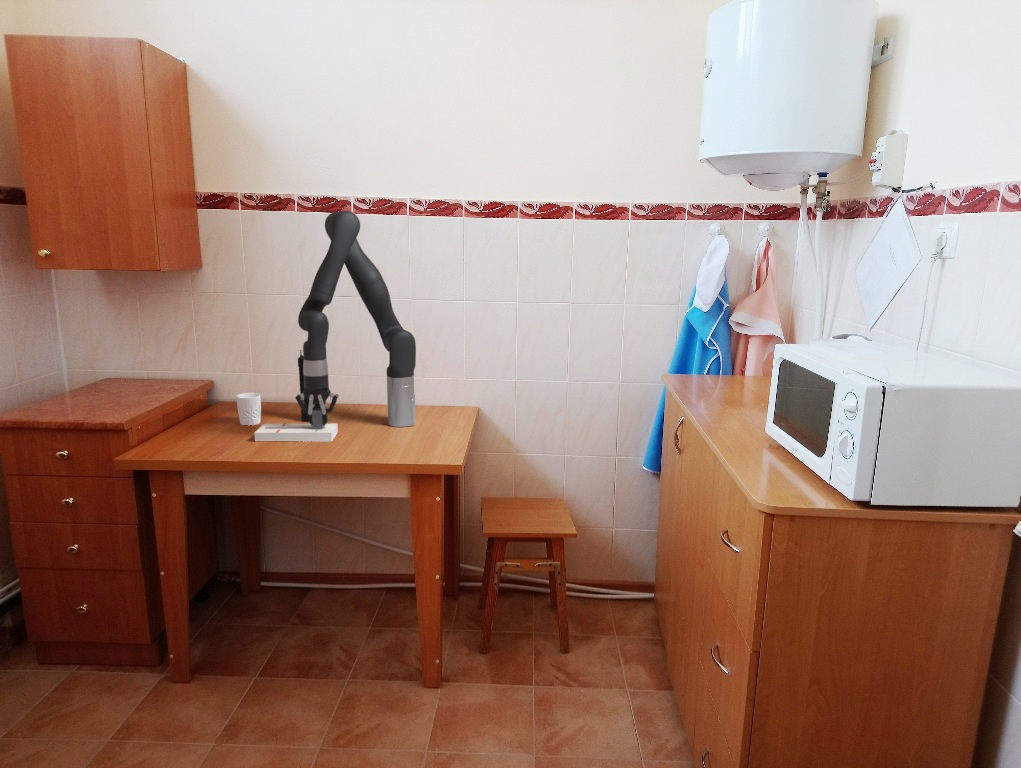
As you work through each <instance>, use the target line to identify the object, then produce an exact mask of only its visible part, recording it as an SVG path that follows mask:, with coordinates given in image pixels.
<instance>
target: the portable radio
mask: <svg viewBox="0 0 1021 768" xmlns="http://www.w3.org/2000/svg"><path fill="white" fill-rule="evenodd" d="M299 351H300V352H299V353H300V354H299V357H297V365H298V366H297V367H298V374H299V376H298V377H299V378H298V379H299V394H302V393H303V392H304V373H303V363H304V357H303V354H302V352H303V349H302V350H301V349H300V350H299ZM304 402H305V404H306V406H307V408H309V401H308V400H307V399H306V397H305V396H304ZM314 408H321V407H320V404H315V405H314ZM300 416H301V417H300V418H301V422H302V423H303V422H307V423H309V414H308V413H303V412H302V410H301V409H300Z"/></svg>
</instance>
